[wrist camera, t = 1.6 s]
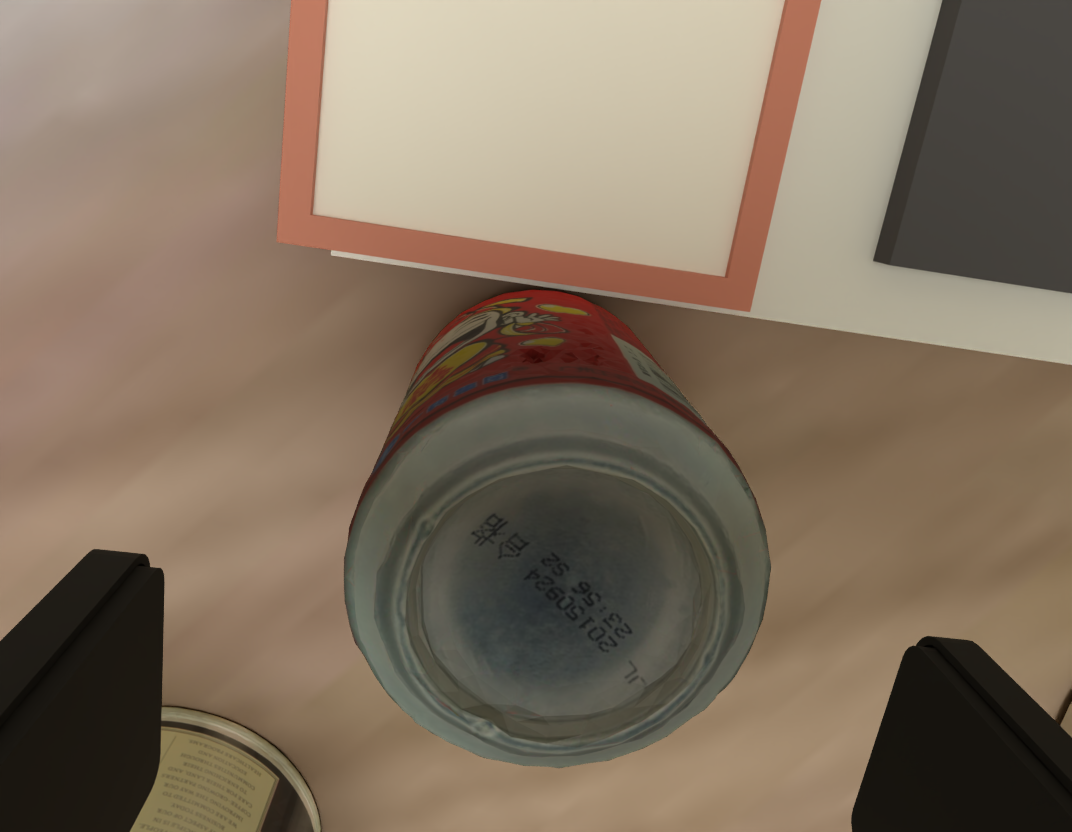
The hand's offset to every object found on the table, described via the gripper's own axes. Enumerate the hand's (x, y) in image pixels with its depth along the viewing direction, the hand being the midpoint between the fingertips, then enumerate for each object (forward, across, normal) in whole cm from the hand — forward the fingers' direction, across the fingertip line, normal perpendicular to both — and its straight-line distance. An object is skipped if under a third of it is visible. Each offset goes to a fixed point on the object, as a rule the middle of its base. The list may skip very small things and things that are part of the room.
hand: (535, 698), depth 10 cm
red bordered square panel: (+14, 0, -10) cm, 17 cm away
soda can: (+15, -1, 0) cm, 15 cm away
